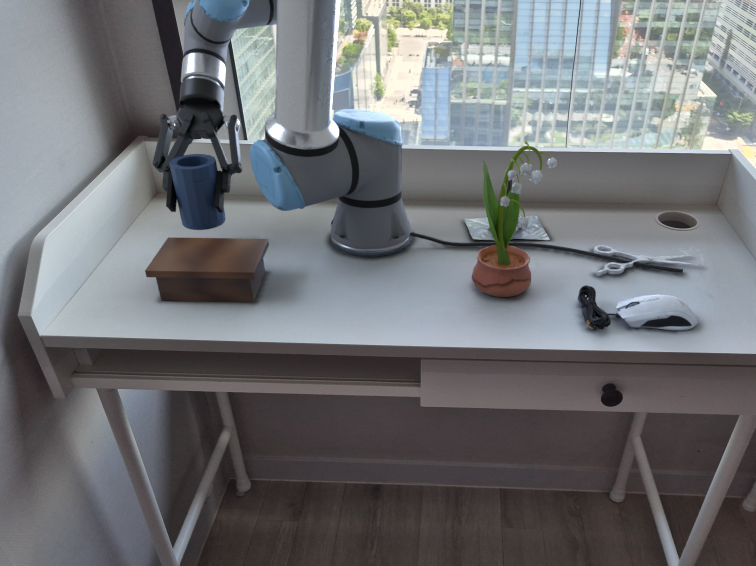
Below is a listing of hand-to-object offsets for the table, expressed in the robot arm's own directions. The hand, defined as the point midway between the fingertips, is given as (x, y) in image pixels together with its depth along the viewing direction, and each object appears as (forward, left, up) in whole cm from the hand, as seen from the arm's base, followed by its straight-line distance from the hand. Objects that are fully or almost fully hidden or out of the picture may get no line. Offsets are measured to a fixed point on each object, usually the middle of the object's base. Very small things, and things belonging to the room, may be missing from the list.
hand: (195, 209), depth 120 cm
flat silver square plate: (-56, -13, -9) cm, 58 cm away
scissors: (-80, 0, -9) cm, 80 cm away
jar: (0, -3, -4) cm, 5 cm away
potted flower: (-54, +10, -9) cm, 56 cm away
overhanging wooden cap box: (-5, +11, -9) cm, 15 cm away
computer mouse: (-74, +20, -9) cm, 77 cm away
